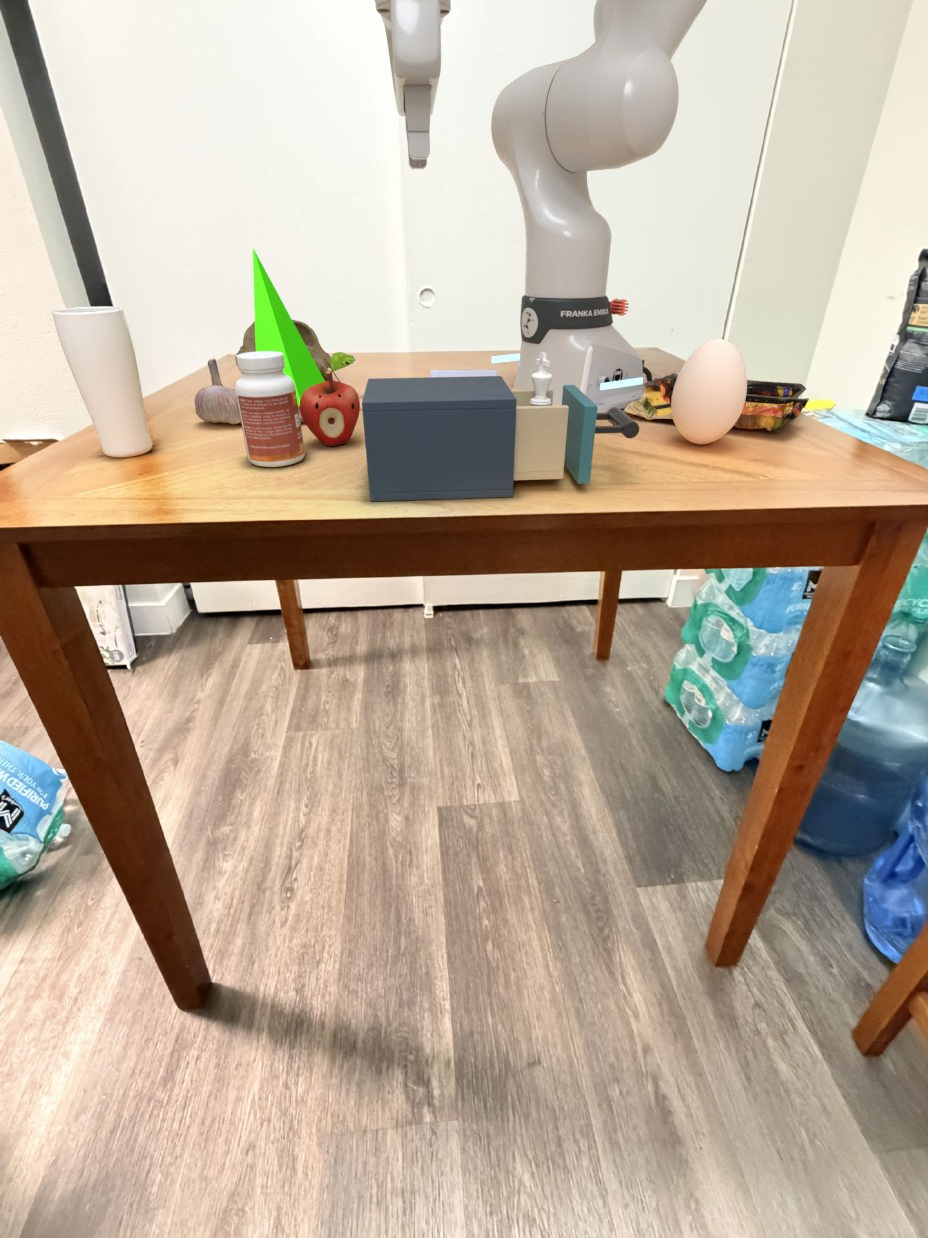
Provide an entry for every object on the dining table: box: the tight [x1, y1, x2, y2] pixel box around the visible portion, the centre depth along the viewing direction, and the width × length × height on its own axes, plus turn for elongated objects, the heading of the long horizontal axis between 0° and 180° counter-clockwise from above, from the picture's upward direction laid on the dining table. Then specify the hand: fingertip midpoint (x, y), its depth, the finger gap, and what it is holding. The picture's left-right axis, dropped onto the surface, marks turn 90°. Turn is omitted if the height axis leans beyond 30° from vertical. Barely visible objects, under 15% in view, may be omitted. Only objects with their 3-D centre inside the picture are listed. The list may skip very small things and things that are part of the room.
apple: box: [299, 351, 361, 447], centre depth 73 cm, size 8×7×10 cm
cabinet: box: [361, 375, 517, 502], centre depth 62 cm, size 14×11×9 cm
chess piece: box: [529, 352, 553, 406], centre depth 61 cm, size 5×5×10 cm
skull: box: [234, 319, 332, 381], centre depth 101 cm, size 17×18×14 cm
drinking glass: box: [51, 305, 153, 458], centre depth 69 cm, size 7×7×15 cm
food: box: [624, 373, 810, 432], centre depth 84 cm, size 22×19×4 cm
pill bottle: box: [234, 351, 306, 468], centre depth 67 cm, size 6×6×11 cm
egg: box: [671, 338, 748, 445], centre depth 71 cm, size 8×8×11 cm
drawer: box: [510, 385, 640, 485], centre depth 62 cm, size 17×9×7 cm, turn 94°
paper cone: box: [252, 247, 325, 423], centre depth 85 cm, size 11×5×25 cm
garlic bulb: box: [194, 357, 241, 425], centre depth 81 cm, size 8×7×8 cm
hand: (418, 163), depth 58 cm, fingers open, 8 cm apart
